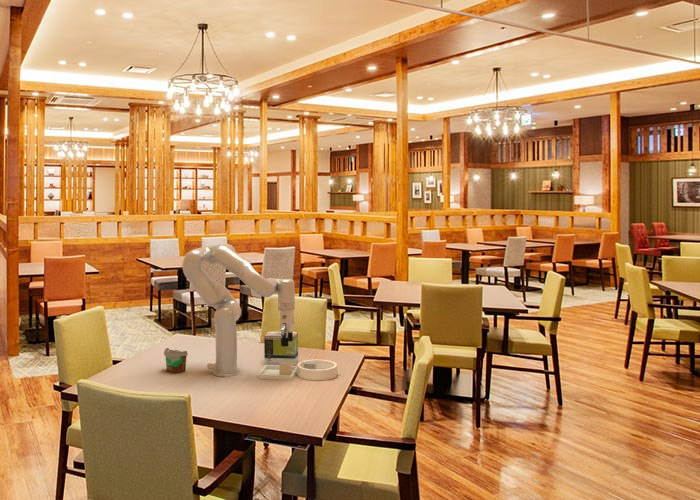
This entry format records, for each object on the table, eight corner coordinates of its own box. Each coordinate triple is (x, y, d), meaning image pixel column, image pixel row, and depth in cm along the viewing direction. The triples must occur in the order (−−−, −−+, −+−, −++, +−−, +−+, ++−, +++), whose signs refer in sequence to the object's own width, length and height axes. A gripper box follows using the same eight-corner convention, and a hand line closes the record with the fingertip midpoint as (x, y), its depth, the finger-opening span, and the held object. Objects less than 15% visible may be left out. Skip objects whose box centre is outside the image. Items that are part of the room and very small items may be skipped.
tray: (256, 379, 271) (256, 374, 271) (265, 369, 287) (265, 365, 287) (292, 380, 270) (292, 376, 270) (299, 370, 286) (299, 366, 285)
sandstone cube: (279, 375, 276) (279, 364, 275) (281, 372, 281) (281, 362, 280) (290, 376, 275) (290, 365, 275) (292, 373, 280) (292, 362, 280)
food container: (158, 371, 282) (157, 350, 281) (167, 368, 287) (167, 347, 286) (178, 375, 276) (178, 353, 275) (187, 372, 281) (187, 350, 280)
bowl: (293, 380, 271) (293, 369, 270) (301, 368, 288) (301, 358, 288) (334, 381, 269) (334, 371, 268) (339, 370, 287) (339, 360, 286)
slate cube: (304, 374, 277) (304, 363, 276) (306, 371, 282) (306, 360, 281) (314, 374, 276) (315, 364, 276) (316, 371, 281) (316, 361, 281)
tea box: (298, 360, 303) (298, 331, 302) (294, 366, 293) (294, 336, 292) (268, 359, 304) (268, 330, 303) (263, 365, 294) (263, 334, 293)
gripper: (290, 309, 266) (291, 348, 268) (298, 303, 284) (298, 339, 285) (273, 309, 267) (274, 348, 269) (282, 302, 284) (282, 339, 286)
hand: (287, 343), depth 277 cm, fingers open, 9 cm apart
